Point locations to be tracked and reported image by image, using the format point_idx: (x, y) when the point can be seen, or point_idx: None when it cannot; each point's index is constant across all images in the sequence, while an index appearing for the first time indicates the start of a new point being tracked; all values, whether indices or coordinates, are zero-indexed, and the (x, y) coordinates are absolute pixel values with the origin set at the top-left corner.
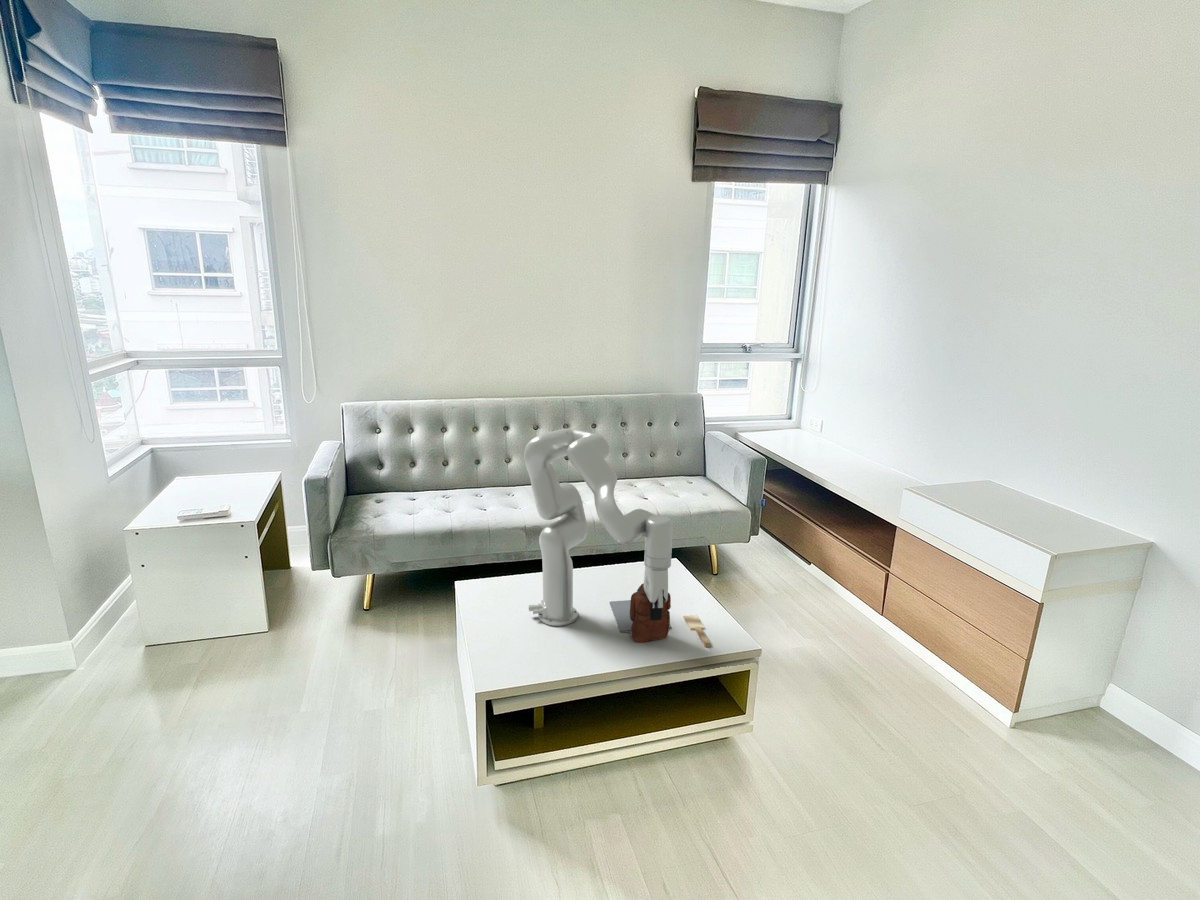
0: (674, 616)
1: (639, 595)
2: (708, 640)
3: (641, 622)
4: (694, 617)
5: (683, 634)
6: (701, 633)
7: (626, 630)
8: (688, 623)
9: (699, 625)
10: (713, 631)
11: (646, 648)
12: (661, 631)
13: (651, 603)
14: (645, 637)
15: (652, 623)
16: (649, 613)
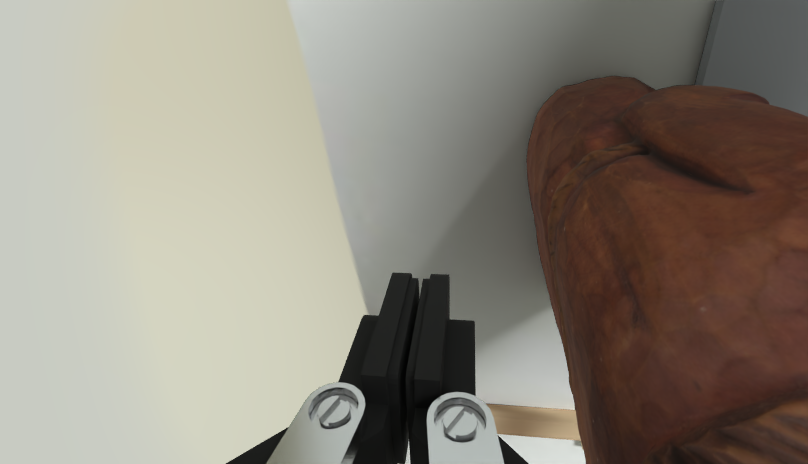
0: None
1: (761, 348)
2: None
3: (546, 179)
4: None
5: (559, 359)
6: (523, 427)
7: (709, 53)
8: None
9: None
10: (549, 461)
11: (462, 152)
12: (546, 280)
13: (427, 422)
14: (527, 170)
15: (546, 260)
16: (446, 298)
